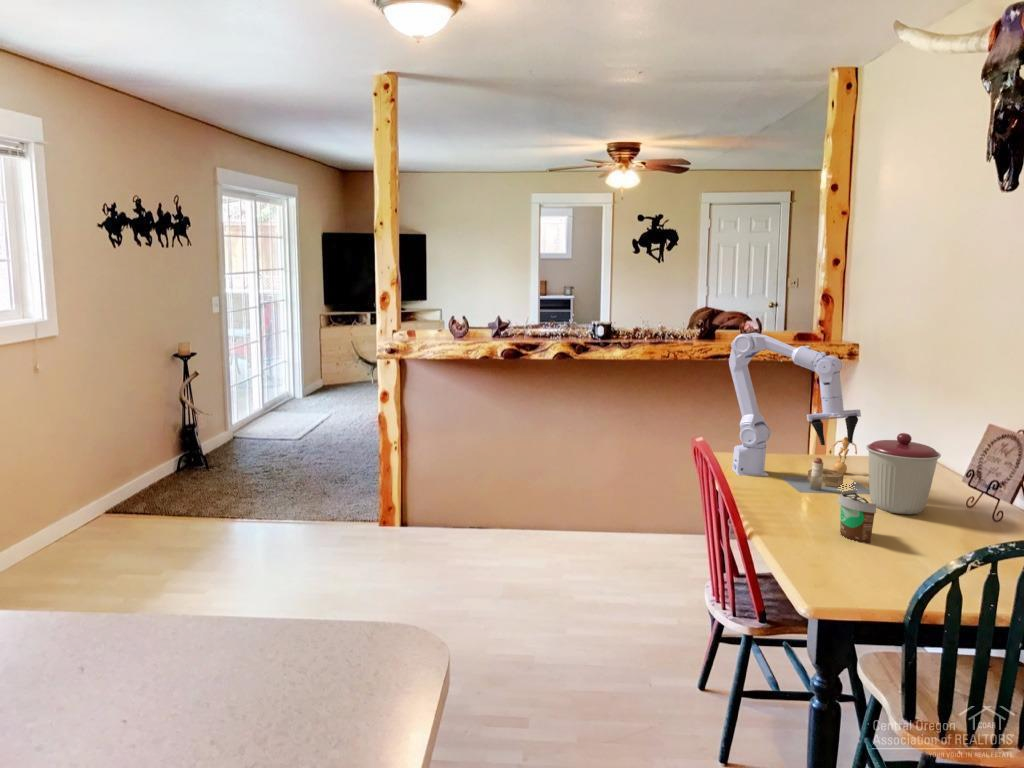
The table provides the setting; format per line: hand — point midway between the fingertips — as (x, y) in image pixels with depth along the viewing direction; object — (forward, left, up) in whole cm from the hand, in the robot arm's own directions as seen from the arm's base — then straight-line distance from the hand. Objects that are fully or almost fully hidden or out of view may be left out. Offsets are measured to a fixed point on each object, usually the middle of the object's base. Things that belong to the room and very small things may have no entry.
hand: (836, 443), depth 230 cm
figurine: (+10, +19, -14) cm, 26 cm away
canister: (+10, -17, -14) cm, 25 cm away
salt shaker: (-6, -1, -14) cm, 15 cm away
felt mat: (-1, +4, -14) cm, 14 cm away
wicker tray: (0, +7, -14) cm, 15 cm away
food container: (-13, -40, -14) cm, 45 cm away
